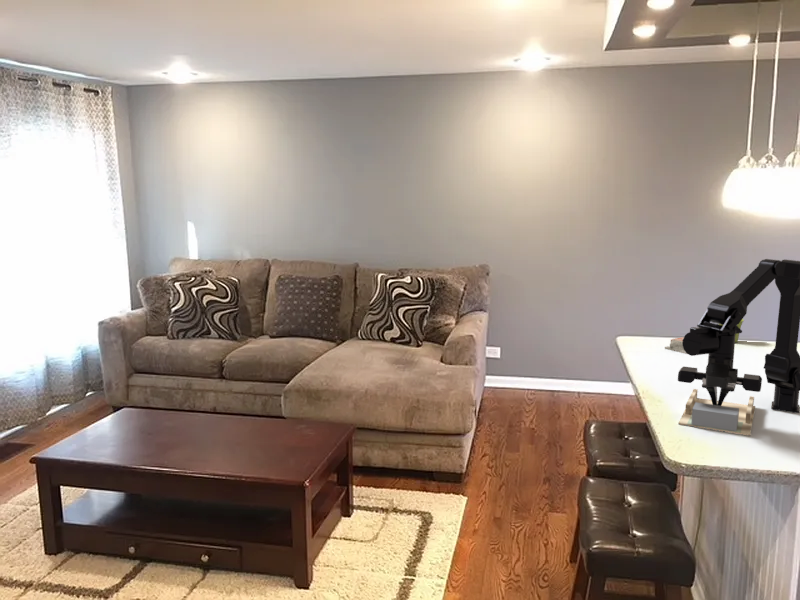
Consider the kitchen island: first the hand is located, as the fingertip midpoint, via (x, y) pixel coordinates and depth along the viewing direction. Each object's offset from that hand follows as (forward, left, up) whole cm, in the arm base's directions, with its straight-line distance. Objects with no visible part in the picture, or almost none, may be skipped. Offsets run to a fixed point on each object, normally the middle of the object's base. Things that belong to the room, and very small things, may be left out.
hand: (716, 411), depth 173 cm
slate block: (+4, 0, -3) cm, 5 cm away
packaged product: (-81, -15, -3) cm, 83 cm away
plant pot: (-100, -5, -3) cm, 100 cm away
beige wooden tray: (-5, 0, -3) cm, 6 cm away
